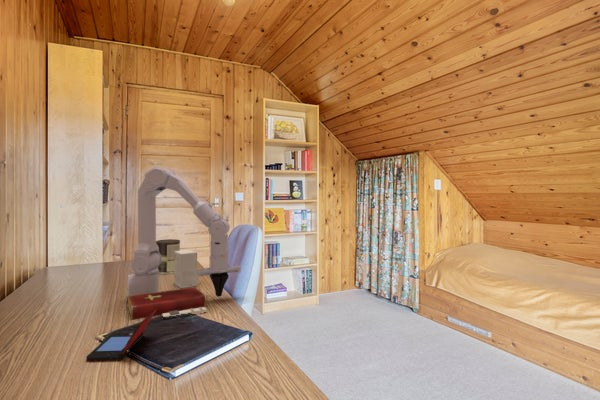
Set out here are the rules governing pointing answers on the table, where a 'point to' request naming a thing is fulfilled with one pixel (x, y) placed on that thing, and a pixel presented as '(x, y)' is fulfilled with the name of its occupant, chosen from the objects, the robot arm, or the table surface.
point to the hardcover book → (165, 302)
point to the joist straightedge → (185, 312)
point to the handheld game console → (118, 343)
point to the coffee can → (167, 254)
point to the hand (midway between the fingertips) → (218, 295)
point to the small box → (185, 268)
